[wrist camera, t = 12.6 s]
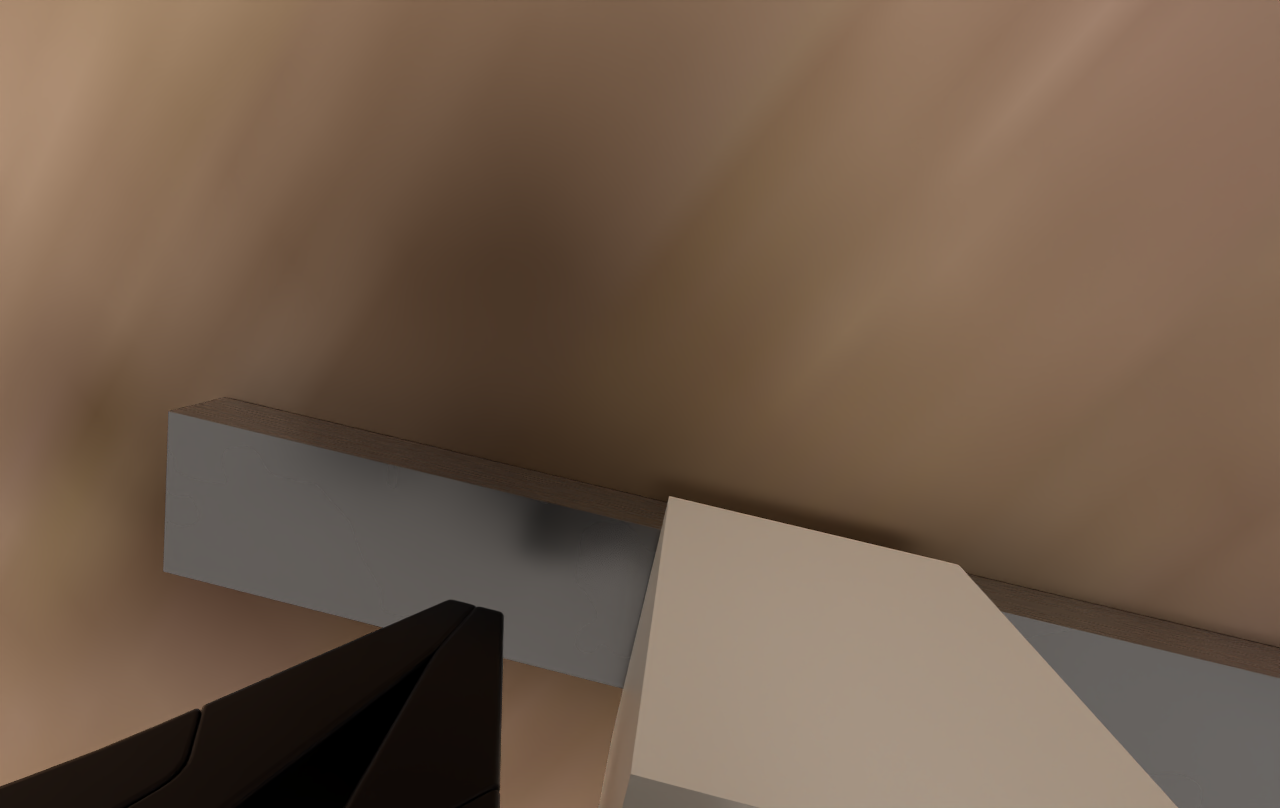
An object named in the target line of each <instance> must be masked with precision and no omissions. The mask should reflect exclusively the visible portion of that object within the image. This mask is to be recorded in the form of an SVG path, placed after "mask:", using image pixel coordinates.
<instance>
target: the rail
mask: <svg viewBox="0 0 1280 808" xmlns="http://www.w3.org/2000/svg"><path fill="white" fill-rule="evenodd" d="M666 507H667V502H663V501H659V500H655V499H650V498H646V497H642V496H638V495H634V494H629V493H625V492H621V491H617V490H613V489H608V488H604V487H600V486H596V485H592V484H587V483H583V482H579V481H575V480H571V479H566V478H562V477H558V476H554V475H550V474H545V473H541V472H537V471H533V470H529V469H524V468H520V467H516V466H512V465H508V464H503V463H499V462H495V461H491V460H487V459H482V458H478V457H474V456H470V455H466V454H461V453H457V452H453V451H449V450H445V449H440V448H436V447H432V446H428V445H424V444H419V443H415V442H411V441H407V440H403V439H398V438H394V437H390V436H386V435H381V434H377V433H373V432H369V431H365V430H360V429H356V428H352V427H348V426H344V425H339V424H335V423H331V422H327V421H323V420H318V419H314V418H310V417H306V416H302V415H297V414H293V413H289V412H285V411H281V410H276V409H272V408H268V407H264V406H260V405H255V404H251V403H247V402H243V401H239V400H234V399H230V398H226V397H223V398H219V399H215V400H211V401H207V402H203V403H199V404H195V405H191V406H187V407H183V408H179V409H175V410H171V411H169V412H168V443H167V473H166V504H165V535H164V566H163V572H167V573H171V574H175V575H179V576H183V577H187V578H191V579H195V580H199V581H203V582H207V583H210V584H214V585H218V586H222V587H226V588H230V589H234V590H238V591H242V592H246V593H250V594H254V595H258V596H261V597H265V598H269V599H273V600H277V601H281V602H285V603H289V604H293V605H297V606H301V607H305V608H309V609H312V610H316V611H320V612H324V613H328V614H332V615H336V616H340V617H344V618H348V619H352V620H356V621H360V622H363V623H367V624H371V625H375V626H379V627H383V628H384V627H386V626H388V625H391V624H393V623H395V622H398V621H400V620H402V619H405V618H407V617H409V616H411V615H414V614H416V613H418V612H421V611H423V610H425V609H428V608H430V607H432V606H435V605H437V604H439V603H441V602H444V601H446V600H450V599H452V600H457V601H460V602H464V603H468V604H472V605H475V606H476V607H484V608H488V609H492V610H496V611H500V612H502V613H503V615H504V637H503V658H505V659H509V660H513V661H517V662H520V663H524V664H528V665H532V666H536V667H540V668H544V669H548V670H552V671H556V672H560V673H564V674H568V675H571V676H575V677H579V678H583V679H587V680H591V681H595V682H599V683H603V684H607V685H611V686H615V687H619V688H622V689H623V688H624V683H625V679H626V675H627V671H628V667H629V662H630V658H631V654H632V650H633V646H634V641H635V637H636V633H637V629H638V625H639V620H640V616H641V612H642V608H643V604H644V599H645V595H646V591H647V587H648V583H649V579H650V574H651V570H652V566H653V562H654V558H655V553H656V549H657V545H658V541H659V537H660V532H661V528H662V524H663V520H664V516H665V511H666ZM967 575H968V576H969V577H970V578H971V579H972V580H973V581H974V582H975V583H976V584H977V586H978V587H979V588H980V589H981V590H982V591H983V592H984V593H985V594H986V596H987V597H988V598H989V599H990V600H991V601H992V602H993V603H994V604H995V606H996V607H997V608H998V609H999V610H1000V611H1001V612H1002V613H1003V614H1004V615H1005V617H1006V618H1007V619H1008V620H1009V621H1010V622H1011V623H1012V624H1013V625H1014V627H1015V628H1016V629H1017V630H1018V631H1019V632H1020V633H1021V634H1022V635H1023V637H1024V638H1025V639H1026V640H1027V641H1028V642H1029V643H1030V644H1031V645H1032V647H1033V648H1034V649H1035V650H1036V651H1037V652H1038V653H1039V654H1040V655H1041V656H1042V658H1043V659H1044V660H1045V661H1046V662H1047V663H1048V664H1049V665H1050V666H1051V668H1052V669H1053V670H1054V671H1055V672H1056V673H1057V674H1058V675H1059V676H1060V678H1061V679H1062V680H1063V681H1064V682H1065V683H1066V684H1067V685H1068V686H1069V687H1070V689H1071V690H1072V691H1073V692H1074V693H1075V694H1076V695H1077V696H1078V697H1079V699H1080V700H1081V701H1082V702H1083V703H1084V704H1085V705H1086V706H1087V707H1088V709H1089V710H1090V711H1091V712H1092V713H1093V714H1094V715H1095V716H1096V717H1097V718H1098V720H1099V721H1100V722H1101V723H1102V724H1103V725H1104V726H1105V727H1106V728H1107V730H1108V731H1109V732H1110V733H1111V734H1112V735H1113V736H1114V737H1115V738H1116V740H1117V741H1118V742H1119V743H1120V744H1121V745H1122V746H1123V747H1124V748H1125V750H1126V751H1127V752H1128V753H1129V754H1130V755H1131V756H1132V757H1133V758H1134V759H1135V761H1136V762H1137V763H1138V764H1139V765H1140V766H1141V767H1142V768H1143V769H1144V771H1145V772H1146V773H1147V774H1148V775H1149V776H1150V777H1151V778H1152V779H1153V781H1154V782H1155V783H1156V784H1157V785H1158V786H1159V787H1160V788H1161V789H1162V790H1163V792H1164V793H1165V794H1166V795H1167V796H1168V797H1169V798H1170V799H1171V800H1172V802H1173V803H1174V804H1175V805H1176V806H1177V807H1178V808H1280V648H1277V647H1272V646H1268V645H1264V644H1260V643H1256V642H1251V641H1247V640H1243V639H1239V638H1235V637H1230V636H1226V635H1222V634H1218V633H1214V632H1209V631H1205V630H1201V629H1197V628H1193V627H1188V626H1184V625H1180V624H1176V623H1171V622H1167V621H1163V620H1159V619H1155V618H1150V617H1146V616H1142V615H1138V614H1134V613H1129V612H1125V611H1121V610H1117V609H1113V608H1108V607H1104V606H1100V605H1096V604H1092V603H1087V602H1083V601H1079V600H1075V599H1071V598H1066V597H1062V596H1058V595H1054V594H1050V593H1045V592H1041V591H1037V590H1033V589H1029V588H1024V587H1020V586H1016V585H1012V584H1008V583H1003V582H999V581H995V580H991V579H987V578H982V577H978V576H974V575H970V574H967Z"/></svg>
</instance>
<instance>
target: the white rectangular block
mask: <svg viewBox="0 0 1280 808" xmlns="http://www.w3.org/2000/svg"><path fill="white" fill-rule="evenodd" d="M598 808H1178V807H1177V806H1176V805H1175V804H1174V803H1173V802H1172V800H1171V799H1170V798H1169V797H1168V796H1167V795H1166V794H1165V793H1164V792H1163V790H1162V789H1161V788H1160V787H1159V786H1158V785H1157V784H1156V783H1155V782H1154V781H1153V779H1152V778H1151V777H1150V776H1149V775H1148V774H1147V773H1146V772H1145V771H1144V769H1143V768H1142V767H1141V766H1140V765H1139V764H1138V763H1137V762H1136V761H1135V759H1134V758H1133V757H1132V756H1131V755H1130V754H1129V753H1128V752H1127V751H1126V750H1125V748H1124V747H1123V746H1122V745H1121V744H1120V743H1119V742H1118V741H1117V740H1116V738H1115V737H1114V736H1113V735H1112V734H1111V733H1110V732H1109V731H1108V730H1107V728H1106V727H1105V726H1104V725H1103V724H1102V723H1101V722H1100V721H1099V720H1098V718H1097V717H1096V716H1095V715H1094V714H1093V713H1092V712H1091V711H1090V710H1089V709H1088V707H1087V706H1086V705H1085V704H1084V703H1083V702H1082V701H1081V700H1080V699H1079V697H1078V696H1077V695H1076V694H1075V693H1074V692H1073V691H1072V690H1071V689H1070V687H1069V686H1068V685H1067V684H1066V683H1065V682H1064V681H1063V680H1062V679H1061V678H1060V676H1059V675H1058V674H1057V673H1056V672H1055V671H1054V670H1053V669H1052V668H1051V666H1050V665H1049V664H1048V663H1047V662H1046V661H1045V660H1044V659H1043V658H1042V656H1041V655H1040V654H1039V653H1038V652H1037V651H1036V650H1035V649H1034V648H1033V647H1032V645H1031V644H1030V643H1029V642H1028V641H1027V640H1026V639H1025V638H1024V637H1023V635H1022V634H1021V633H1020V632H1019V631H1018V630H1017V629H1016V628H1015V627H1014V625H1013V624H1012V623H1011V622H1010V621H1009V620H1008V619H1007V618H1006V617H1005V615H1004V614H1003V613H1002V612H1001V611H1000V610H999V609H998V608H997V607H996V606H995V604H994V603H993V602H992V601H991V600H990V599H989V598H988V597H987V596H986V594H985V593H984V592H983V591H982V590H981V589H980V588H979V587H978V586H977V584H976V583H975V582H974V581H973V580H972V579H971V578H970V577H969V576H968V575H967V573H966V572H965V571H964V570H963V569H962V568H961V567H960V566H959V565H958V564H954V563H949V562H945V561H941V560H937V559H933V558H928V557H924V556H920V555H916V554H911V553H907V552H903V551H899V550H895V549H890V548H886V547H882V546H878V545H874V544H869V543H865V542H861V541H857V540H853V539H848V538H844V537H840V536H836V535H831V534H827V533H823V532H819V531H815V530H810V529H806V528H802V527H798V526H794V525H789V524H785V523H781V522H777V521H772V520H768V519H764V518H760V517H756V516H751V515H747V514H743V513H739V512H735V511H730V510H726V509H722V508H718V507H713V506H709V505H705V504H701V503H697V502H692V501H688V500H684V499H680V498H676V497H671V496H669V499H668V503H667V507H666V511H665V516H664V520H663V524H662V528H661V532H660V537H659V541H658V545H657V549H656V553H655V558H654V562H653V566H652V570H651V574H650V579H649V583H648V587H647V591H646V595H645V599H644V604H643V608H642V612H641V616H640V620H639V625H638V629H637V633H636V637H635V641H634V646H633V650H632V654H631V658H630V662H629V667H628V671H627V675H626V679H625V683H624V688H623V692H622V696H621V700H620V704H619V709H618V713H617V717H616V721H615V725H614V730H613V734H612V739H611V744H610V749H609V754H608V760H607V765H606V770H605V775H604V781H603V786H602V791H601V796H600V802H599V807H598Z"/></svg>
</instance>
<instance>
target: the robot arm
mask: <svg viewBox="0 0 1280 808" xmlns="http://www.w3.org/2000/svg"><path fill="white" fill-rule="evenodd" d="M503 637H504V615H503V613H502V612H500V611H496V610H492V609H488V608H484V607H476V606H475V605H472V604H468V603H464V602H460V601H457V600H452V599H450V600H446V601H444V602H441V603H439V604H437V605H435V606H432V607H430V608H428V609H425V610H423V611H421V612H418V613H416V614H414V615H411V616H409V617H407V618H405V619H402V620H400V621H398V622H395V623H393V624H391V625H388V626H386V627H384V628H381V629H379V630H377V631H375V632H372V633H370V634H368V635H365V636H363V637H361V638H358V639H356V640H354V641H351V642H349V643H347V644H345V645H342V646H340V647H338V648H335V649H333V650H331V651H328V652H326V653H324V654H321V655H319V656H317V657H315V658H312V659H310V660H308V661H305V662H303V663H301V664H298V665H296V666H294V667H291V668H289V669H287V670H285V671H282V672H280V673H278V674H275V675H273V676H271V677H268V678H266V679H264V680H261V681H259V682H257V683H254V684H252V685H250V686H248V687H245V688H243V689H241V690H238V691H236V692H234V693H231V694H229V695H227V696H224V697H222V698H220V699H218V700H215V701H213V702H211V703H208V704H206V705H204V706H203V708H202V711H200V710H199V709H194V710H192V711H189V712H187V713H185V714H182V715H180V716H178V717H175V718H173V719H171V720H169V721H166V722H164V723H162V724H159V725H157V726H154V727H152V728H150V729H147V730H145V731H142V732H140V733H137V734H135V735H133V736H130V737H128V738H125V739H123V740H121V741H118V742H116V743H113V744H111V745H108V746H106V747H104V748H101V749H99V750H96V751H94V752H91V753H88V754H86V755H83V756H80V757H78V758H75V759H72V760H70V761H67V762H64V763H62V764H59V765H57V766H54V767H51V768H49V769H46V770H43V771H41V772H38V773H35V774H33V775H30V776H27V777H25V778H22V779H19V780H17V781H14V782H11V783H8V784H6V785H3V786H0V808H500V793H499V791H500V764H501V721H502V679H503Z"/></svg>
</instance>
